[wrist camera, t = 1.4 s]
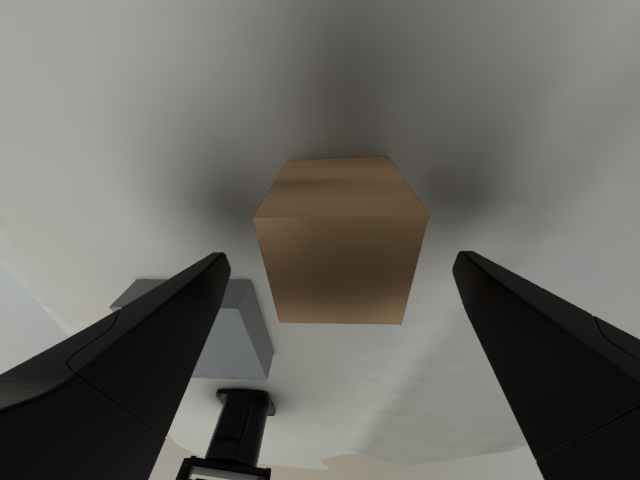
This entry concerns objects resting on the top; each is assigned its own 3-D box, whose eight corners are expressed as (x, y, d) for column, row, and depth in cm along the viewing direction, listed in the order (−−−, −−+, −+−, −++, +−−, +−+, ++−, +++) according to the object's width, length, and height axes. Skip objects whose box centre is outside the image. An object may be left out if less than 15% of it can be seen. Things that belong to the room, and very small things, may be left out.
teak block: (378, 239, 14) (401, 324, 9) (298, 240, 14) (279, 322, 9) (388, 156, 11) (429, 214, 6) (288, 160, 11) (252, 218, 7)
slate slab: (274, 347, 23) (267, 380, 20) (189, 345, 23) (172, 376, 21) (251, 275, 17) (237, 308, 15) (140, 275, 18) (109, 307, 15)
